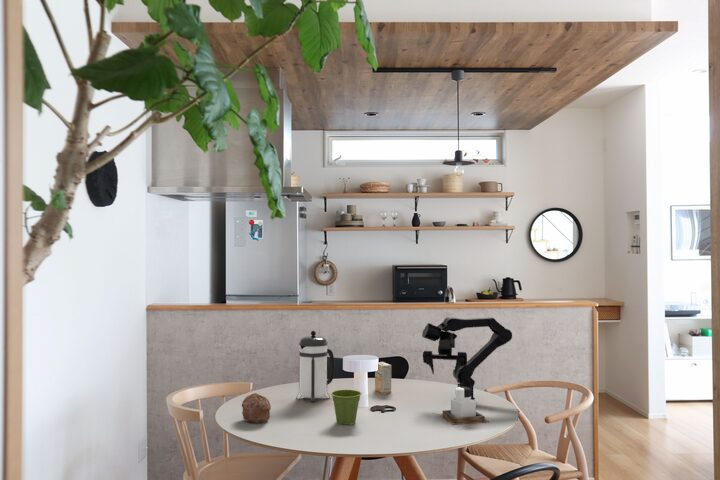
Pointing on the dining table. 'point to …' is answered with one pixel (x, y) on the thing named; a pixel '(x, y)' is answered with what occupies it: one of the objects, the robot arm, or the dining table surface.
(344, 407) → the plant pot
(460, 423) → the walnut dock
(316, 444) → the dining table surface
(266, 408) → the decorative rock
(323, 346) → the coffee press
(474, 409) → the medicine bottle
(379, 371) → the supplement box
